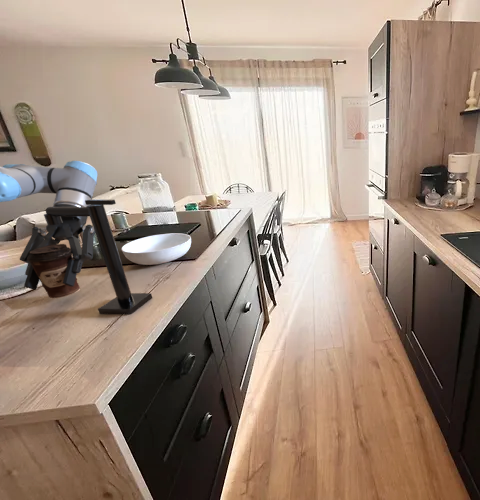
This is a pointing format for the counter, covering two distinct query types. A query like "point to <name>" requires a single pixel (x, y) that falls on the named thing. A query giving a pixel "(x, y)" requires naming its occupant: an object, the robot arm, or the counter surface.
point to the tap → (104, 254)
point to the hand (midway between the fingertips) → (49, 286)
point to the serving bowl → (157, 248)
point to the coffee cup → (53, 269)
